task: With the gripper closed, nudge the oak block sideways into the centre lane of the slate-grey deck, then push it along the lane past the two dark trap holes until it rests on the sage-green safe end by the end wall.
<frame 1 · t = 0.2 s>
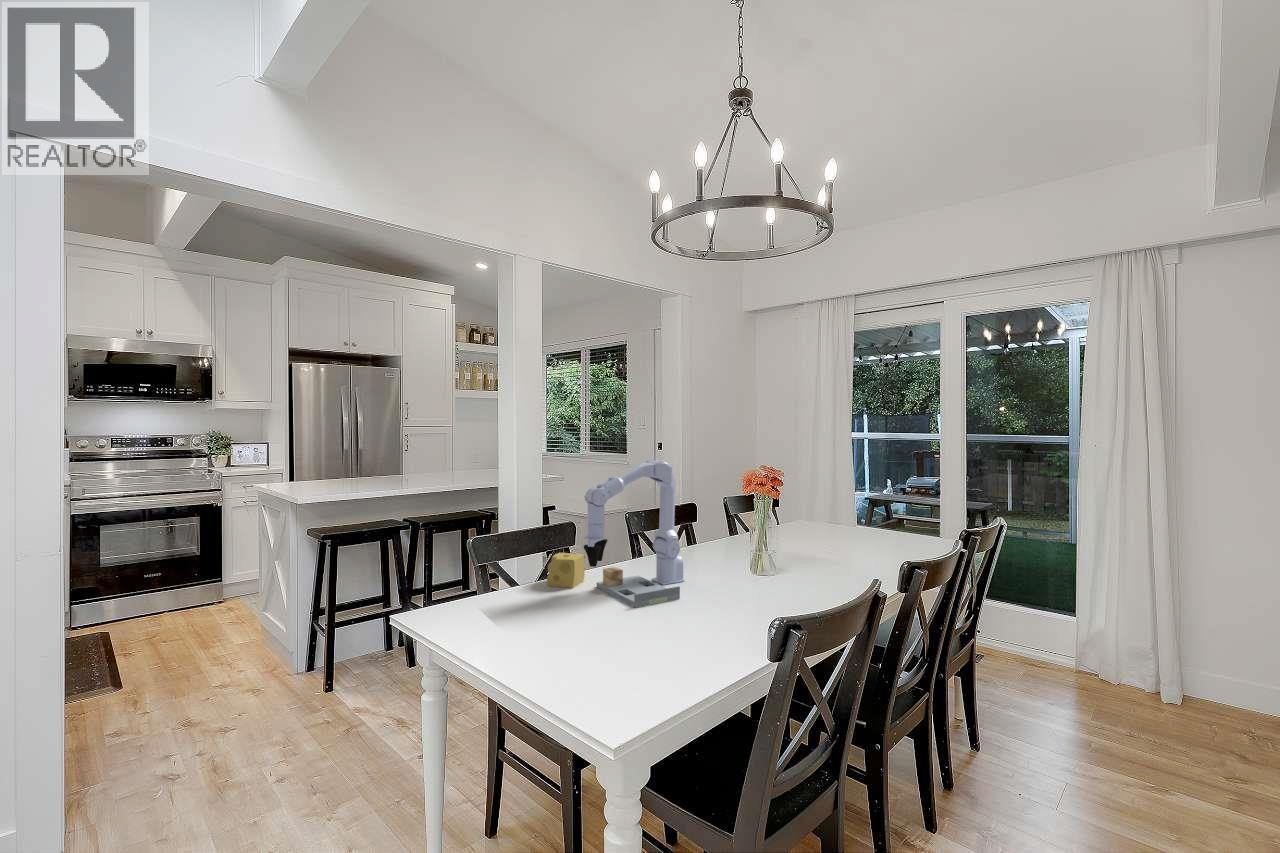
hand: (595, 563, 199), 10 cm above the table, tool pointing down, fingers open, 7 cm apart
cheese: (566, 584, 210), on the table
oak block: (612, 583, 204), point 2 cm above the table, touching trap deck
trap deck: (636, 592, 199), on the table
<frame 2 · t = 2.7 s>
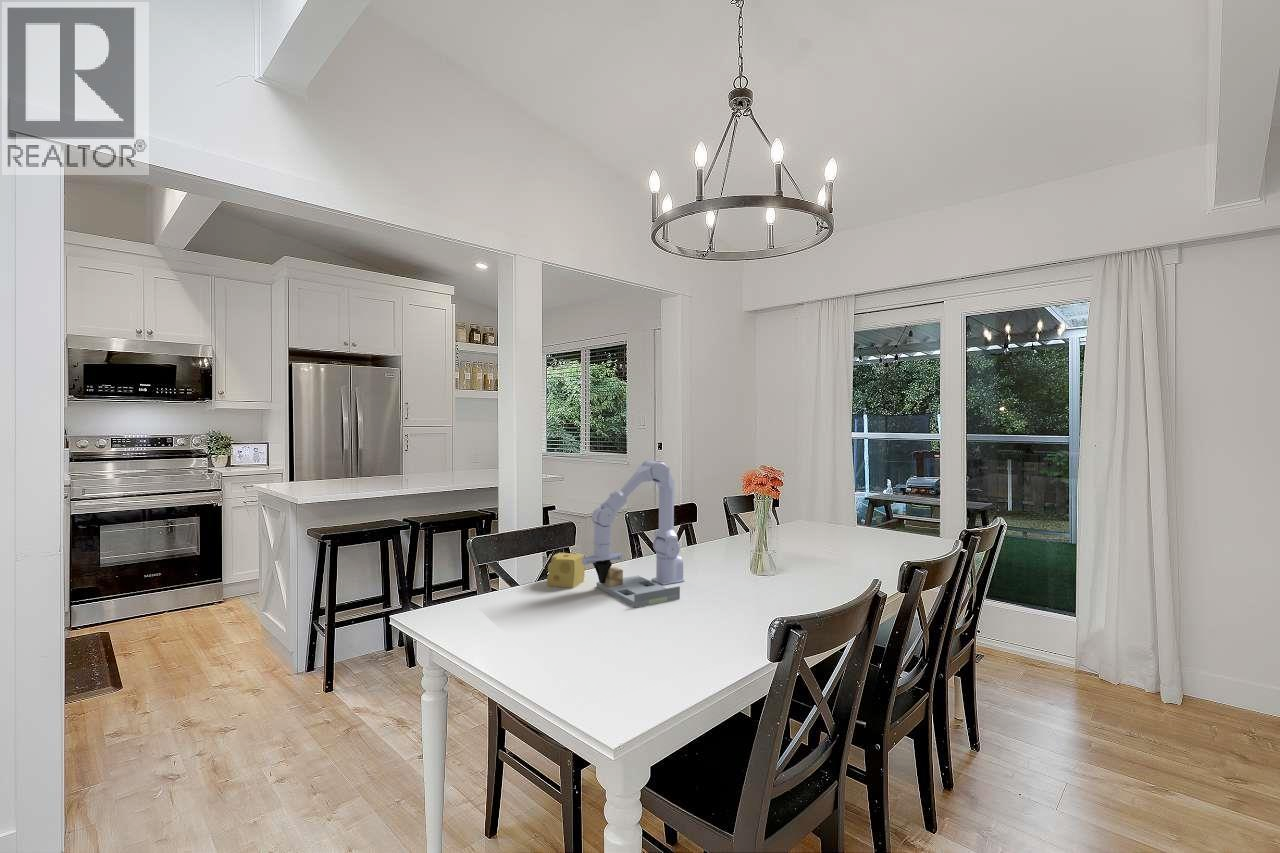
hand: (602, 582, 201), 3 cm above the table, tool pointing down, fingers closed
oak block: (612, 583, 204), point 2 cm above the table, touching gripper, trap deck
everything else where it was.
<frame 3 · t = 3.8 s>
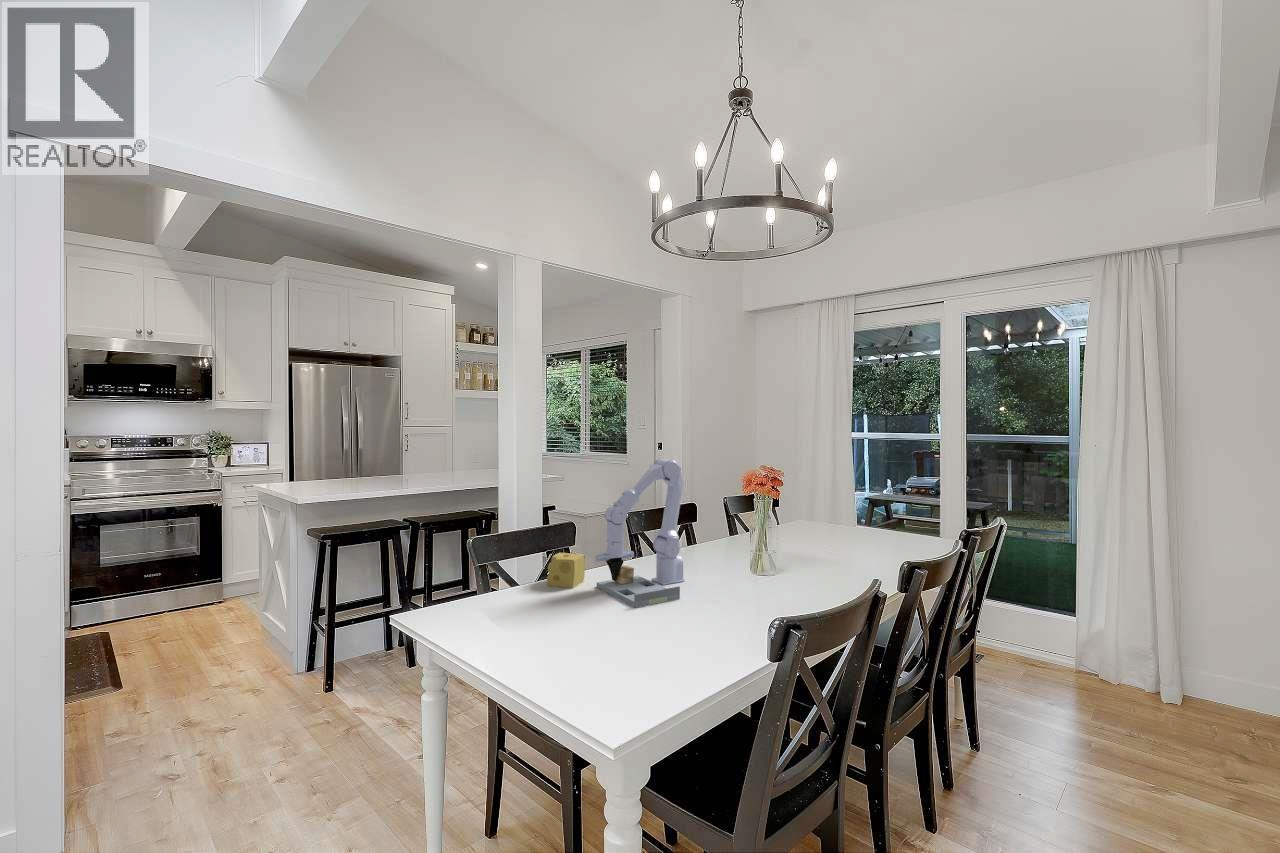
hand: (614, 580, 204), 3 cm above the table, tool pointing down, fingers closed
oak block: (623, 581, 206), point 2 cm above the table, touching gripper, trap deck
everything else where it was.
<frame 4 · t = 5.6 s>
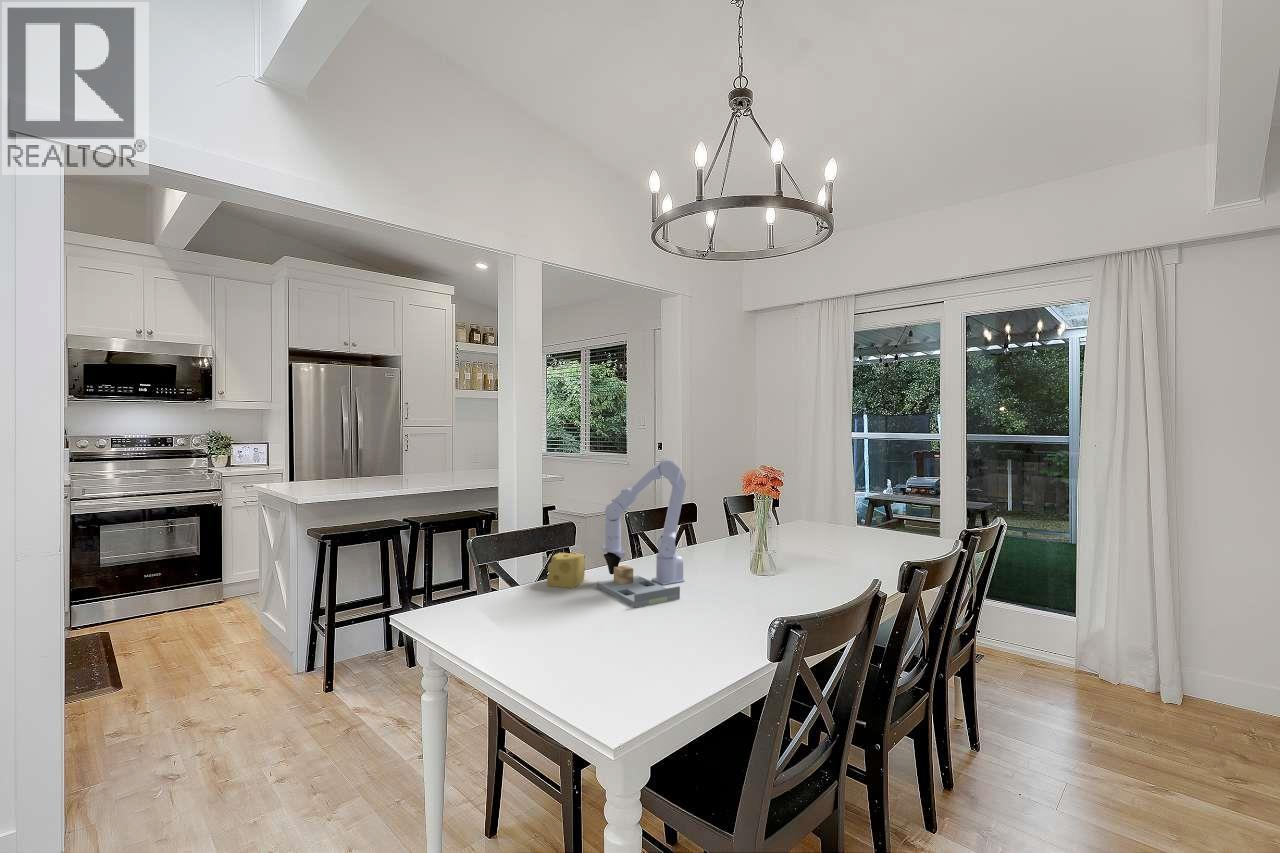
hand: (612, 573, 213), 3 cm above the table, tool pointing down, fingers closed
oak block: (623, 582, 206), point 2 cm above the table, touching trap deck
everything else where it was.
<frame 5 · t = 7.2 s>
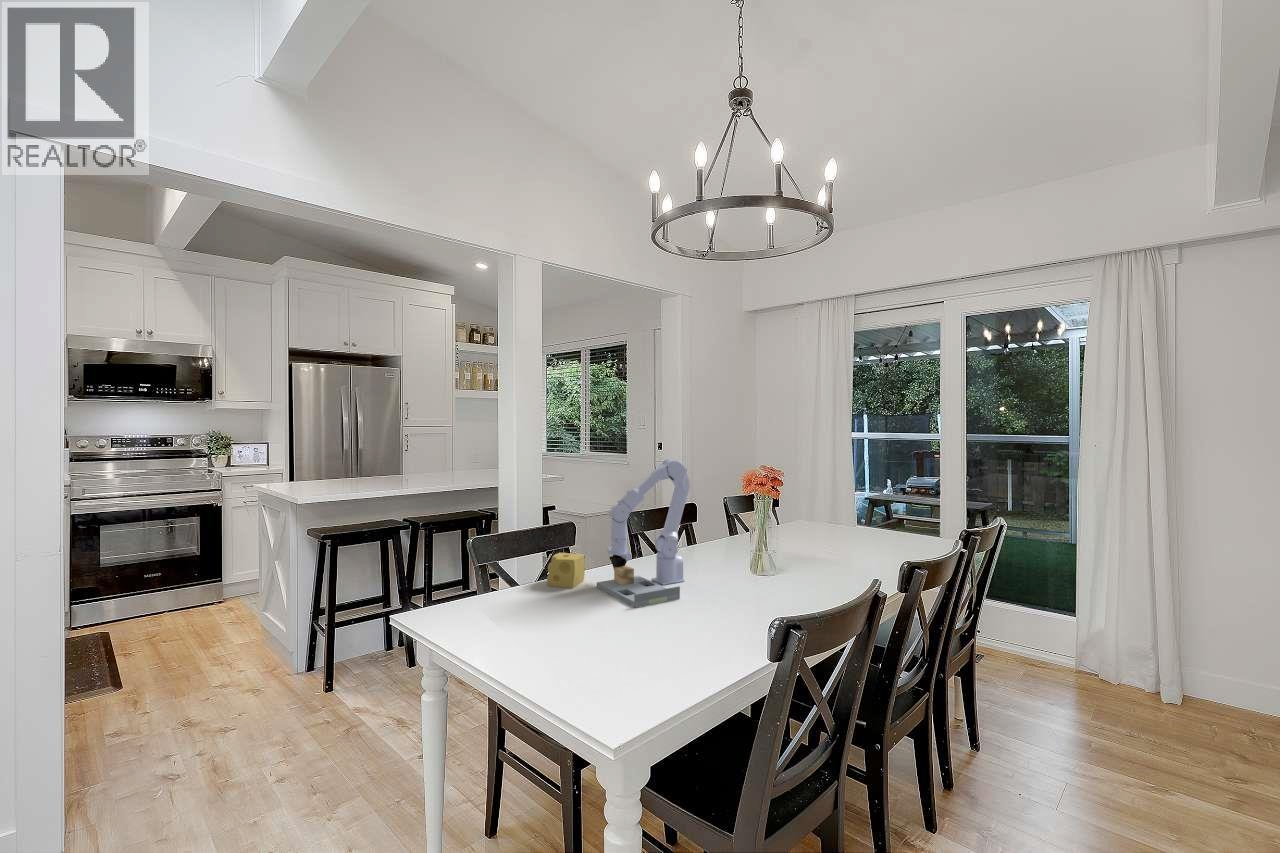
hand: (618, 576, 209), 3 cm above the table, tool pointing down, fingers closed
oak block: (623, 582, 205), point 2 cm above the table, touching gripper
everything else where it was.
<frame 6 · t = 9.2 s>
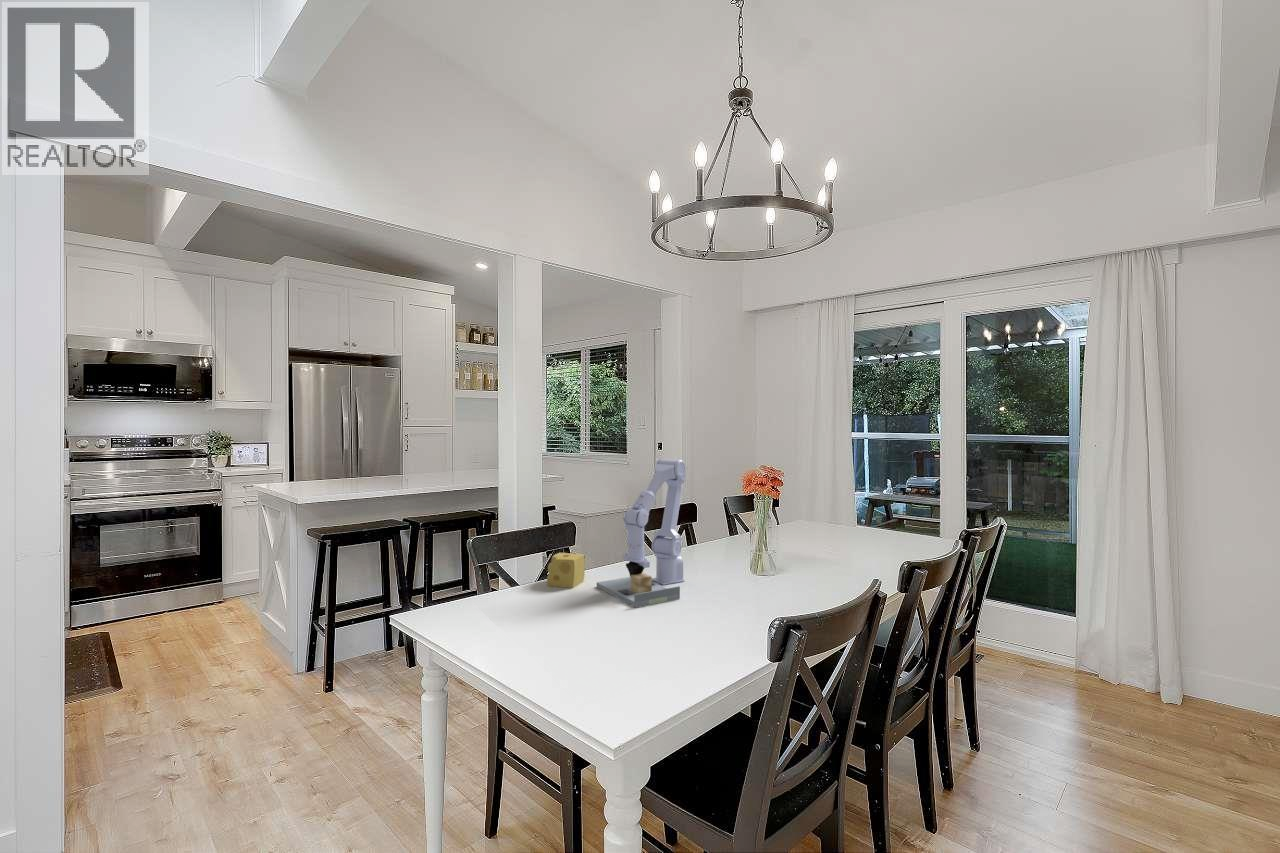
hand: (635, 584, 199), 3 cm above the table, tool pointing down, fingers closed
oak block: (641, 590, 196), point 2 cm above the table, touching gripper
everything else where it was.
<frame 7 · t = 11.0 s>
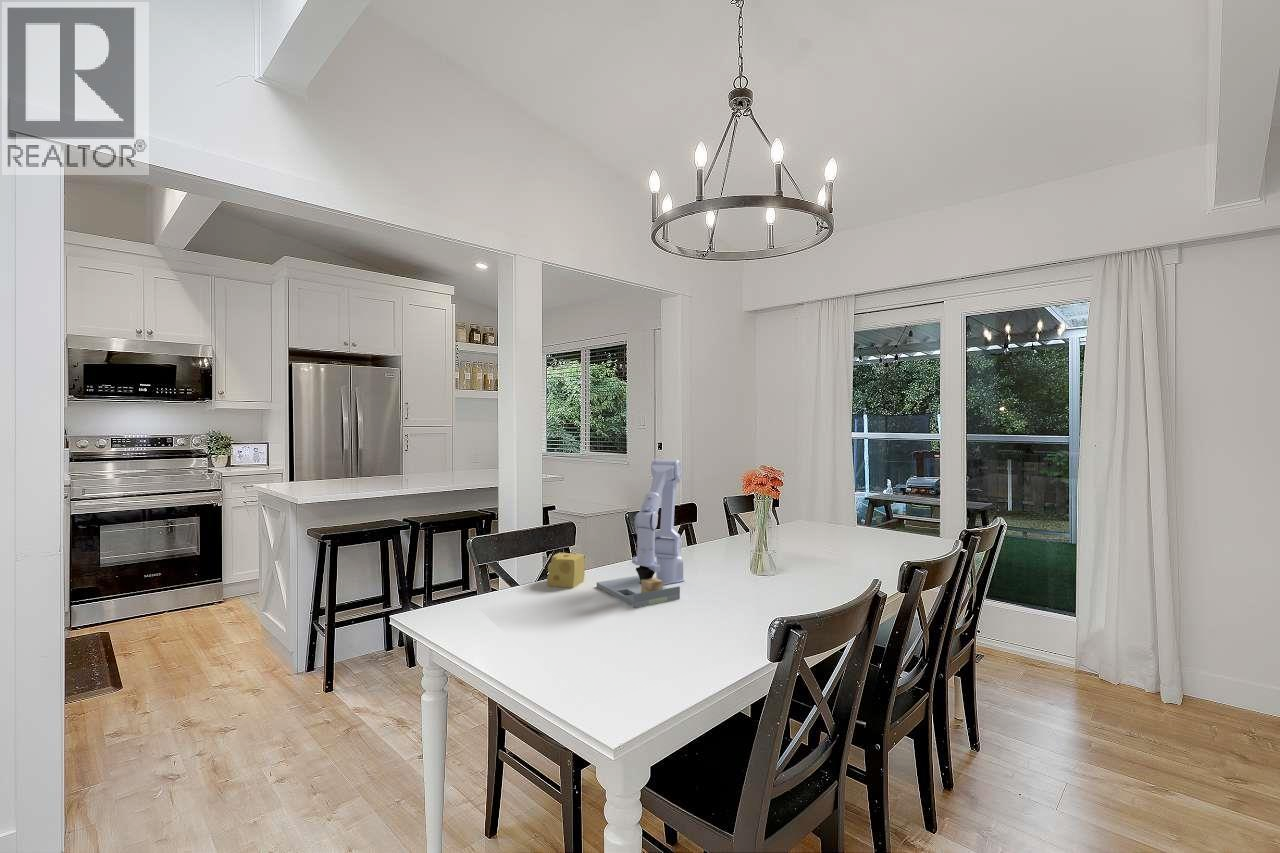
hand: (645, 589, 194), 3 cm above the table, tool pointing down, fingers closed
oak block: (651, 595, 190), point 2 cm above the table, touching gripper, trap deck
everything else where it was.
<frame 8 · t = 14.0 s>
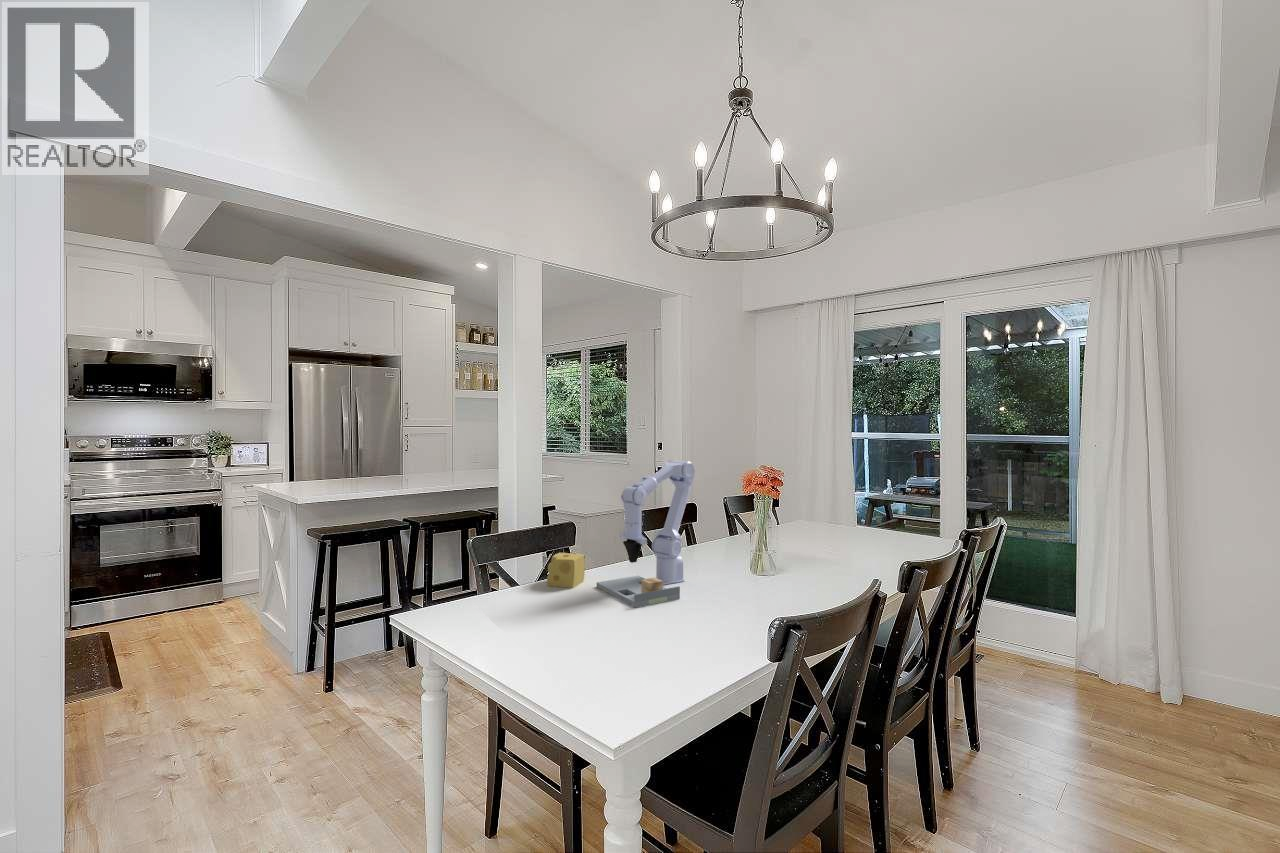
hand: (633, 561, 201), 10 cm above the table, tool pointing down, fingers closed
oak block: (651, 595, 190), point 2 cm above the table, touching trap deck
everything else where it was.
at the end: oak block 0.3 cm from the target spot on the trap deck, point 1.6 cm above the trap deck's base; oak block tilted 0° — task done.
